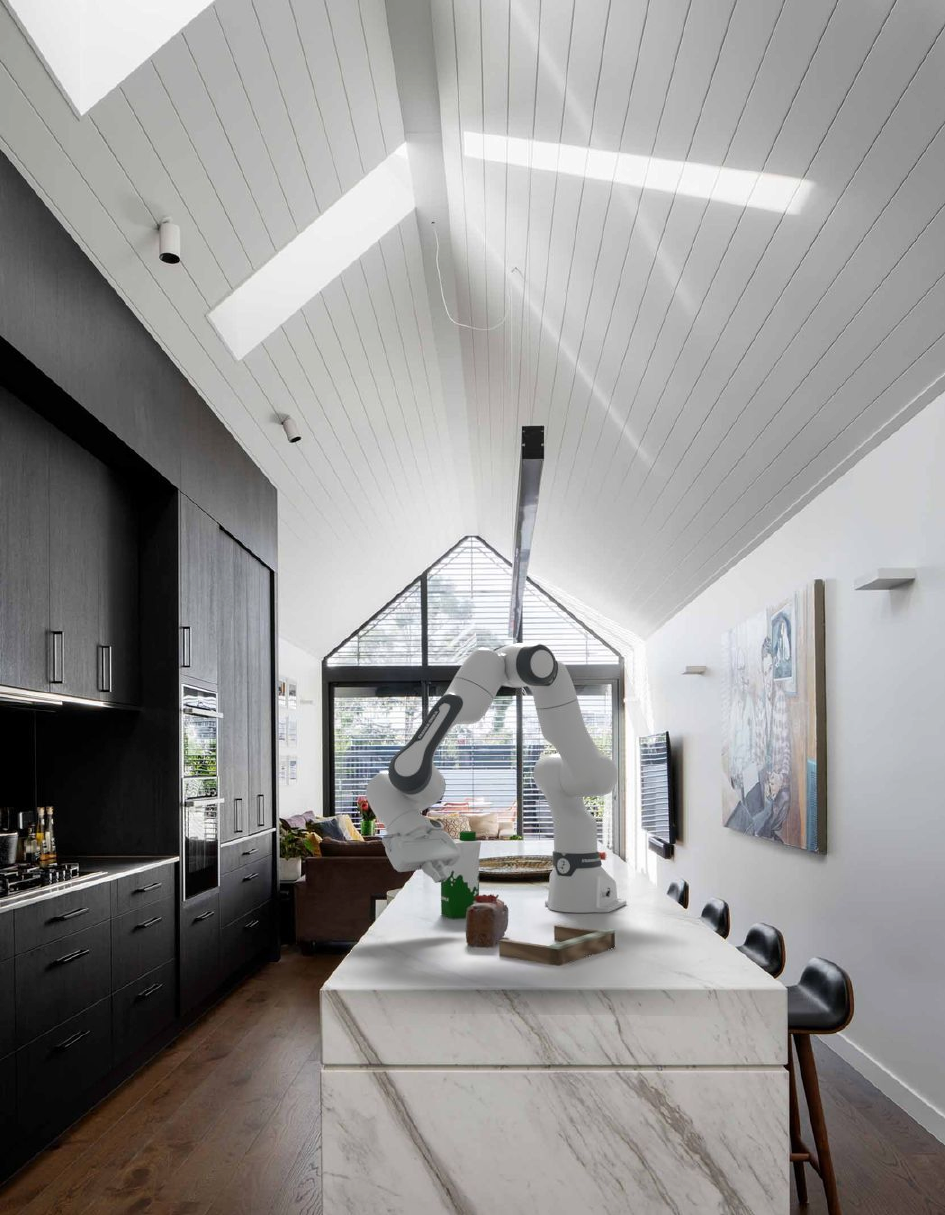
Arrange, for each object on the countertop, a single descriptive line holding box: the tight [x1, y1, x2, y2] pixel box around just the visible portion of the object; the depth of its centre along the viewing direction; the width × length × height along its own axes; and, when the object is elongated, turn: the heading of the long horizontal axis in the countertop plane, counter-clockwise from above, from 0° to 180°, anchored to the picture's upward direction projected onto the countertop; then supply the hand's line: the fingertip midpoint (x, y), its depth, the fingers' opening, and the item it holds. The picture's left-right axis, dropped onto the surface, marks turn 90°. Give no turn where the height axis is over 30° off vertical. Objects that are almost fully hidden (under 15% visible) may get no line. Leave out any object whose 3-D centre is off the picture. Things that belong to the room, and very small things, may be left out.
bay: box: [498, 924, 616, 967], centre depth 199 cm, size 21×14×4 cm, turn 141°
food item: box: [465, 894, 509, 948], centre depth 210 cm, size 14×8×10 cm, turn 170°
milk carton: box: [440, 830, 482, 920], centre depth 241 cm, size 9×9×20 cm
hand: (442, 880), depth 219 cm, fingers closed
